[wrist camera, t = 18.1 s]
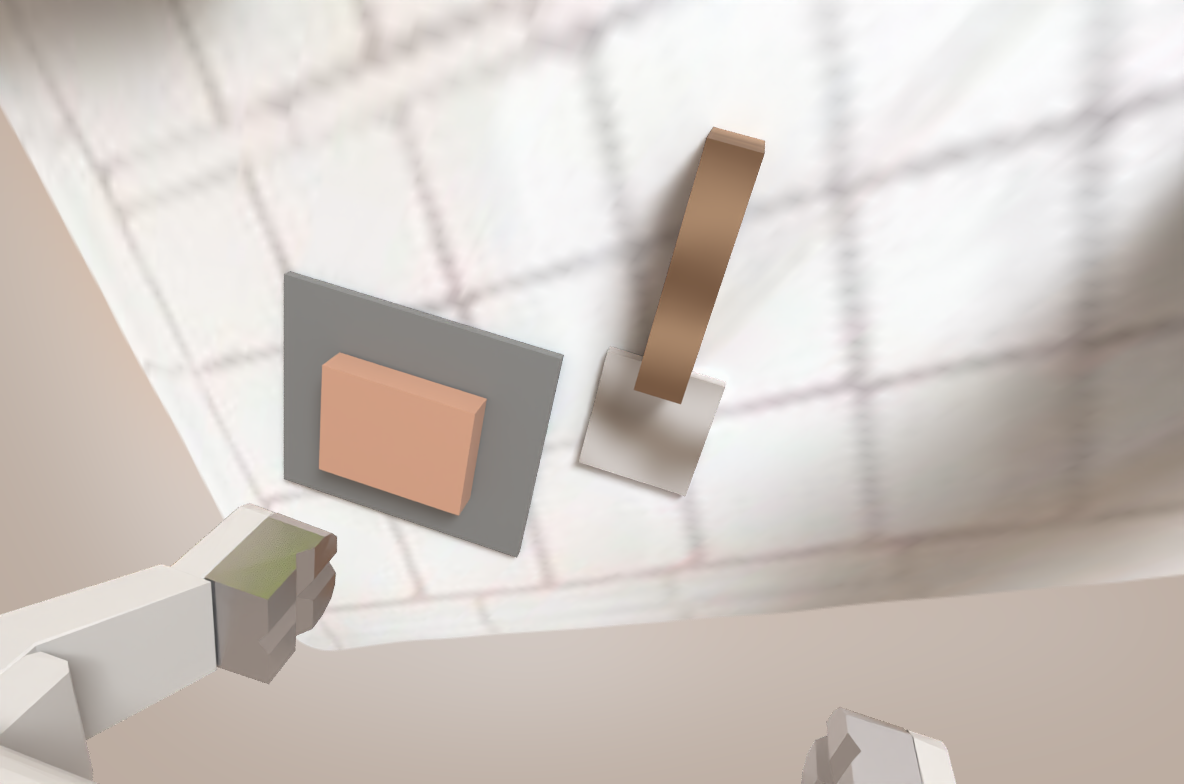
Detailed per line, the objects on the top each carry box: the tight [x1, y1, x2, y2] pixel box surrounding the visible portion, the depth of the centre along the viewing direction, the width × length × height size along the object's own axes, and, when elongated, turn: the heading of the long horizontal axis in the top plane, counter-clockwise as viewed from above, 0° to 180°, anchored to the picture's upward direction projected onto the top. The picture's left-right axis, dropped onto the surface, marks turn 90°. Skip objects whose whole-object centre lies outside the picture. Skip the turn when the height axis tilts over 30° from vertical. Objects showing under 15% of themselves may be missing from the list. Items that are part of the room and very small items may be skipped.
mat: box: [284, 271, 564, 557], centre depth 46 cm, size 18×16×1 cm
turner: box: [579, 127, 765, 496], centre depth 37 cm, size 21×7×4 cm, turn 166°
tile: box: [319, 353, 487, 516], centre depth 45 cm, size 10×2×8 cm
